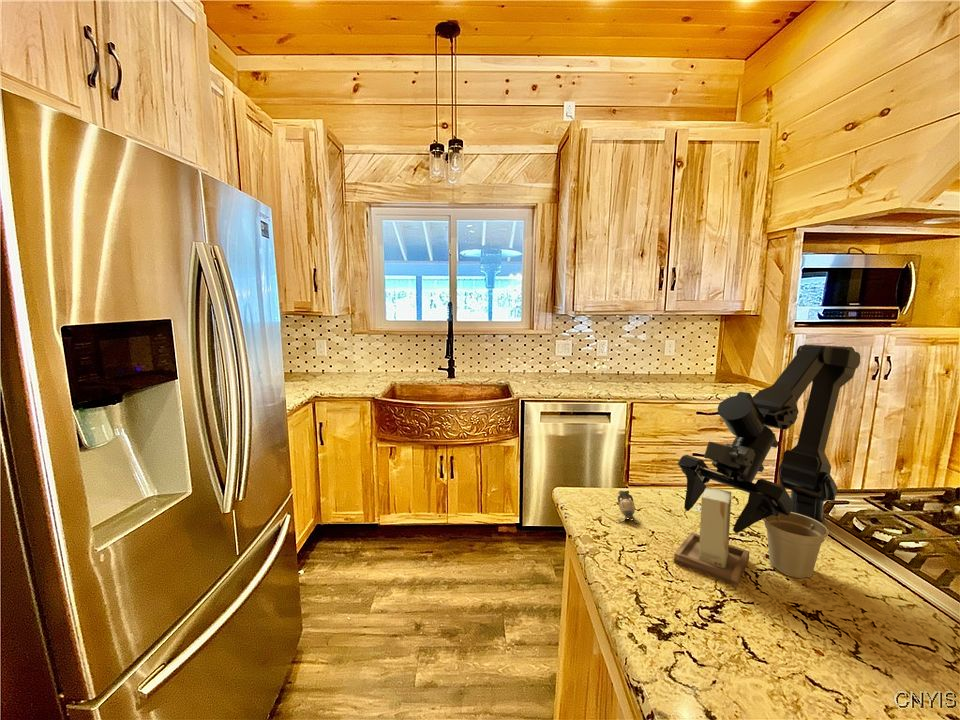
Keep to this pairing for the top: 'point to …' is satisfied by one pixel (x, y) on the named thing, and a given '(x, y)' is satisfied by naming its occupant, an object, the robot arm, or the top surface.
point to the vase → (626, 505)
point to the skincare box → (715, 526)
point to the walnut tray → (690, 559)
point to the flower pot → (794, 543)
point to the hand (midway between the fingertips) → (709, 520)
